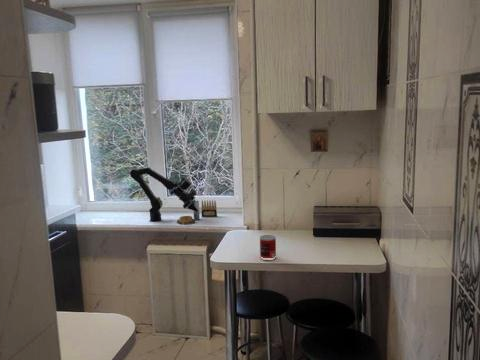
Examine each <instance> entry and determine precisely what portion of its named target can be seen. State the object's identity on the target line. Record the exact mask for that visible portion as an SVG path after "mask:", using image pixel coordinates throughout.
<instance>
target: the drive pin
mask: <svg viewBox="0 0 480 360" xmlns="http://www.w3.org/2000/svg"><path fill="white" fill-rule="evenodd" d="M193 204H194V206H195V207H196V208H197V210H198V212H196V211H193V210H192V212H193V214H192V215H193V219H195V222H196V221H200V219H201V218H200V201H199V200H195V201H193Z"/></svg>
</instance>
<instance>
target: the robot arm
mask: <svg viewBox="0 0 480 360" xmlns="http://www.w3.org/2000/svg"><path fill="white" fill-rule="evenodd" d="M145 174H146V175H148V176H149V177H151V178H153V179H155V180H157V181H158V182H159V183H161V184H162V185H163V186H164V188H166V189H167V190H169V191H170V196H172V195H175V196H176V197H177V198H178V200H179V201H181V202H182V203H183V205H182V207H183V209H187V210H190V211H192V212H193V211H196V212H198V210H197V208H196V207H195V206H194V204H193V201H196V195H197V194H198V193H197V190H196V189H194V188H192V189H190V192H186V190H187V189H188V188H189V187H190V186H191V185H192V182H191V180H189V179H187V178H186V177H183V178H182V179H181V180H180V181H179V182H177V181H175V180H173V179H171V178H168V177H164V176H163V175H161V174H160V173H158V172H157V171H155V170H154V169H152V168H151V167H150V166H149V167H148V166H146V167H144V168H133V169H132V170H130V172H129V176H130V177H131V179H133V180H134V181H135V182H137V184H138V185H139V186H140V188H141V190H142V191H143V192H144V194H145V195H146V196H147V198H148V199H149V202H150V203H149V204H150V205H151V207H150V209H148V211H149V220H148V222H156V223H157V222H160V221H161V220H162V213H161V211H160V210H161V209H162V207H163V201H162V199H161V198H160V196H158V197H157V196H156V195H155V194H154V192H153V191H152V189H151V187H150V186H149V185H148V184H147V182H146V181H145V179H144V176H143V175H145Z"/></svg>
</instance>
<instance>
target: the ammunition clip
mask: <svg viewBox="0 0 480 360" xmlns="http://www.w3.org/2000/svg"><path fill="white" fill-rule="evenodd" d="M217 211H218V210H217V201H216V200H213V199H211V200H208V199H207V200H202V199H201V218H216V217H218V212H217Z"/></svg>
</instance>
